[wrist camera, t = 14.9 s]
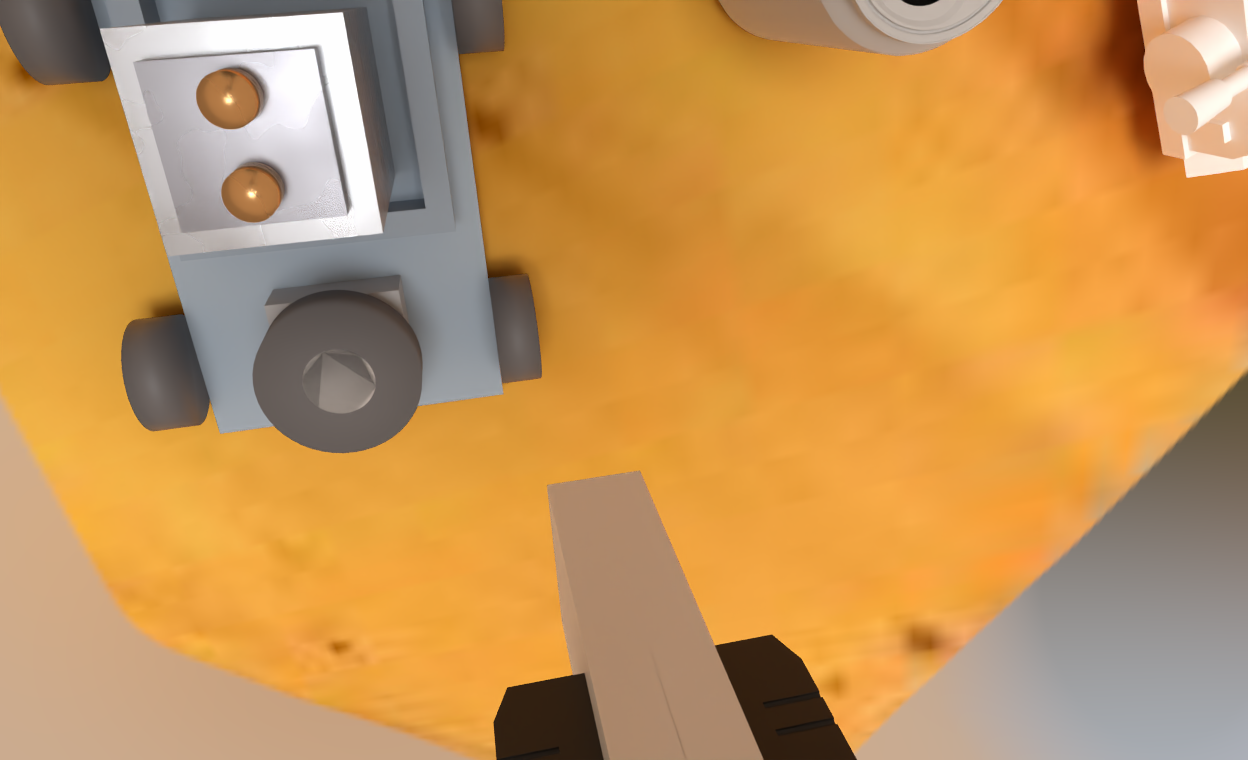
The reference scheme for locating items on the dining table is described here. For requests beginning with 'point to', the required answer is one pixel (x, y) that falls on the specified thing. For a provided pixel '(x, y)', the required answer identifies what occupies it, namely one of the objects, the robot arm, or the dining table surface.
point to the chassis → (371, 264)
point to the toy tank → (1199, 80)
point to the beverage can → (861, 22)
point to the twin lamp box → (256, 127)
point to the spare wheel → (339, 371)
